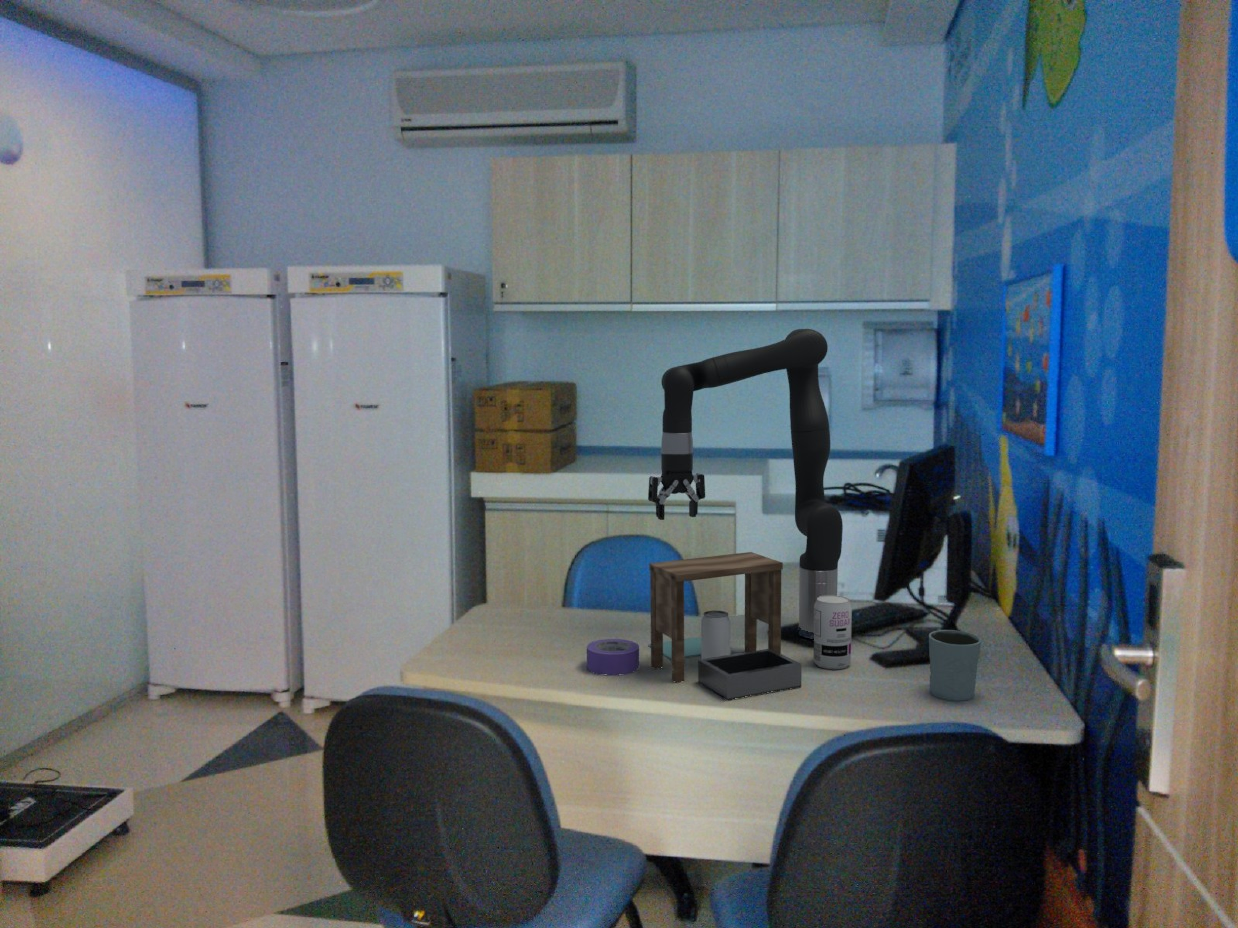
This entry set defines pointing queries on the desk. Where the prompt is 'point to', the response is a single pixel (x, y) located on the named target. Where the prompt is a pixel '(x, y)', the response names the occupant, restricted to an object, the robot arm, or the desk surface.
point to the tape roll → (612, 656)
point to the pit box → (749, 673)
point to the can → (715, 634)
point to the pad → (690, 647)
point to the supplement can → (832, 632)
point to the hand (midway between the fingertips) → (676, 518)
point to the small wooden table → (672, 574)
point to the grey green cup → (953, 664)
